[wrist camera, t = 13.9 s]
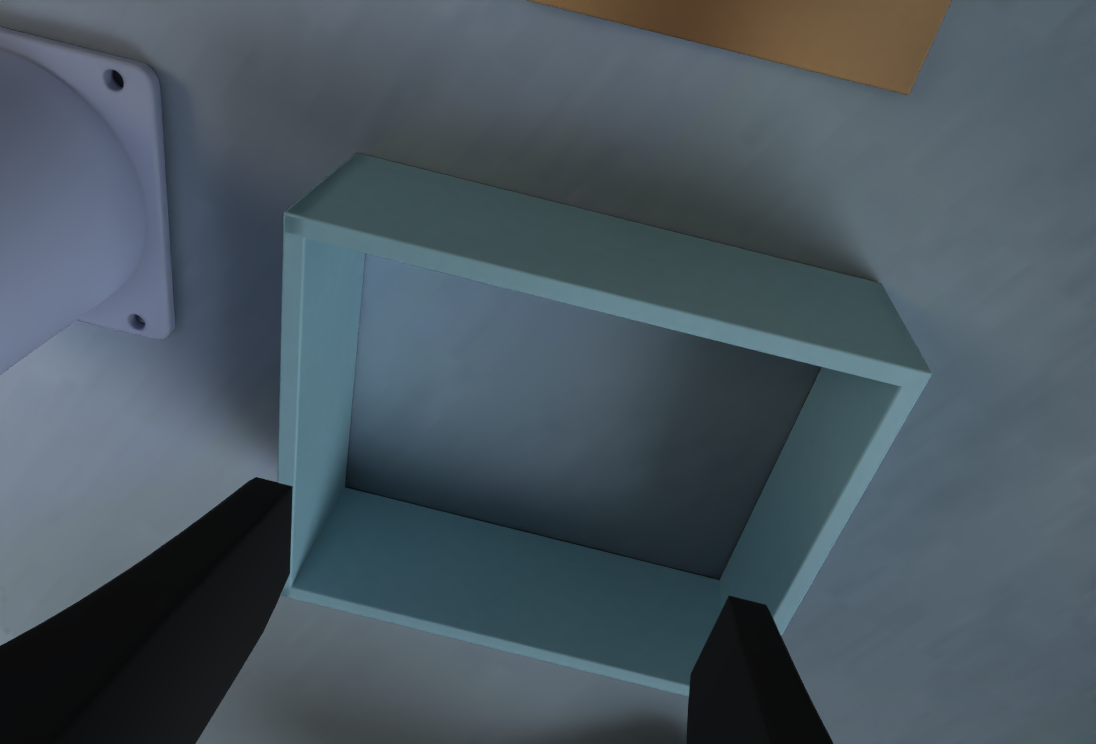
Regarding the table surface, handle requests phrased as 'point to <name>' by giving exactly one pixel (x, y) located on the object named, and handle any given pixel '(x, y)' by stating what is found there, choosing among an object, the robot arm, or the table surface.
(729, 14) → the coaster
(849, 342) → the container
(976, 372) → the table surface
